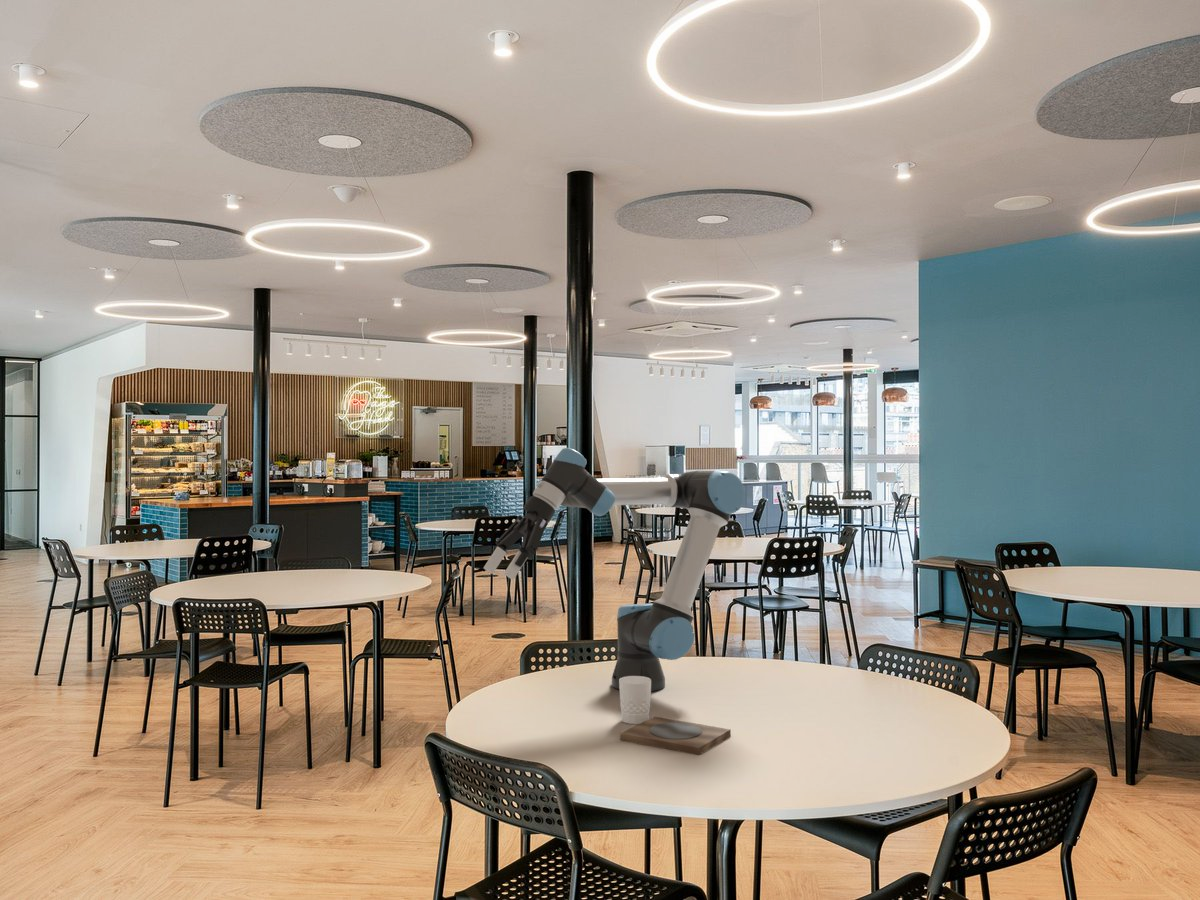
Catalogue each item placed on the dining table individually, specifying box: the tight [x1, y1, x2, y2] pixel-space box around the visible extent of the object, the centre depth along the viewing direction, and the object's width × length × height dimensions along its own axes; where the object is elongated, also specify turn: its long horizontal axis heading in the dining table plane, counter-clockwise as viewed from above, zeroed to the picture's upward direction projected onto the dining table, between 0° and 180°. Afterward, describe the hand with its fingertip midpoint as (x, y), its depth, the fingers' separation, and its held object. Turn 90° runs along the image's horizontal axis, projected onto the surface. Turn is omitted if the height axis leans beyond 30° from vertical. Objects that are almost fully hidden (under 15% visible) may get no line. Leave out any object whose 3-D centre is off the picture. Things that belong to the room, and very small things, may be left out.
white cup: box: [619, 676, 652, 725], centre depth 219 cm, size 8×8×10 cm
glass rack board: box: [619, 716, 732, 756], centre depth 205 cm, size 16×20×2 cm
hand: (497, 574), depth 219 cm, fingers open, 13 cm apart
